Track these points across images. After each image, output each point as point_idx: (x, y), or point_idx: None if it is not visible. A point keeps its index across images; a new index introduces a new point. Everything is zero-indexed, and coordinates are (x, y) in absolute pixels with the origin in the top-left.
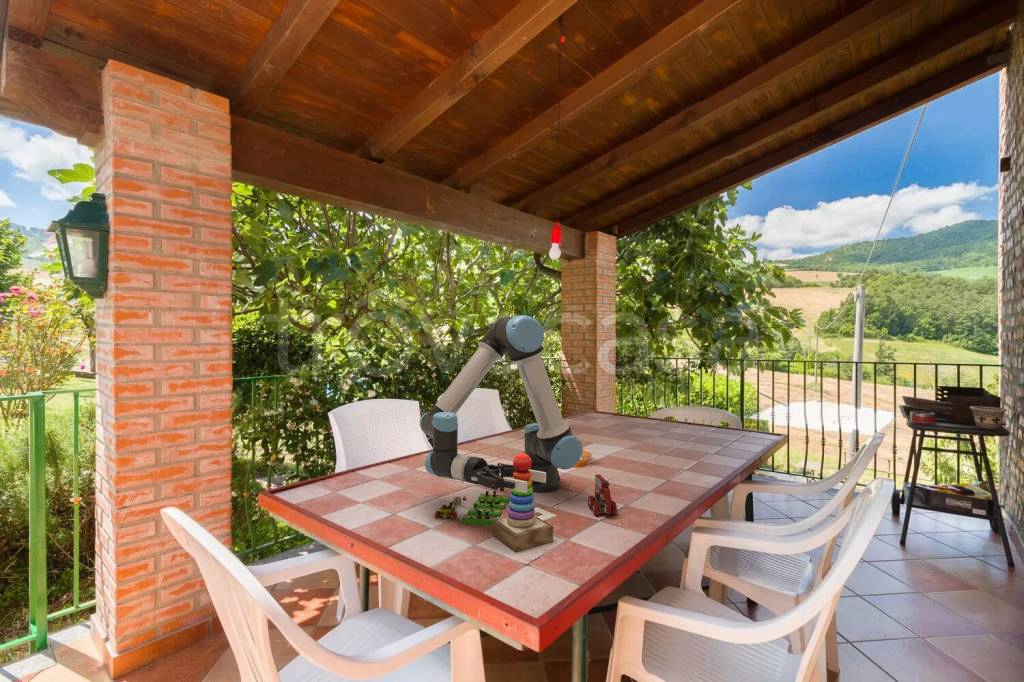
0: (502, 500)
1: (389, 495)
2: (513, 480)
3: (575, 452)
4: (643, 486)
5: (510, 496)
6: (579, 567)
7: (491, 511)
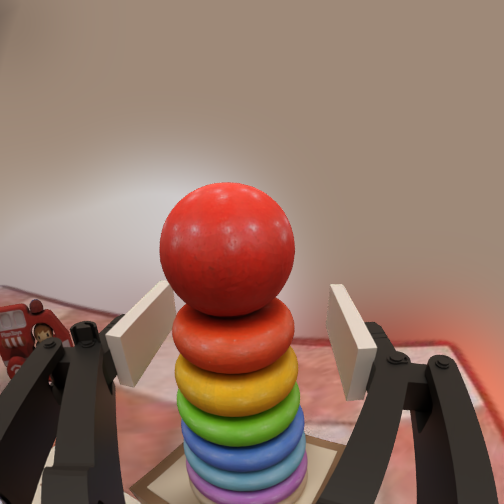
0: None
1: None
2: (359, 318)
3: None
4: None
5: (285, 449)
6: (309, 364)
7: None
